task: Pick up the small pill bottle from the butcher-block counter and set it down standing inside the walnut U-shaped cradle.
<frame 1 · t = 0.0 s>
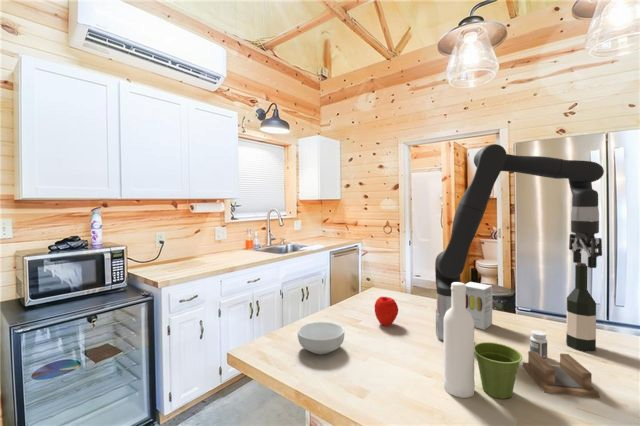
hand: (584, 265, 110), 29 cm above the table, tool pointing down, fingers open, 8 cm apart
supplement box: (476, 324, 133), on the table
apple: (386, 324, 134), on the table
wine bottle: (580, 347, 111), on the table
bottle: (458, 390, 87), on the table
pill bottle: (538, 357, 104), on the table
plant pot: (496, 392, 86), on the table
cradle: (557, 380, 91), on the table
cereal bowl: (321, 349, 113), on the table
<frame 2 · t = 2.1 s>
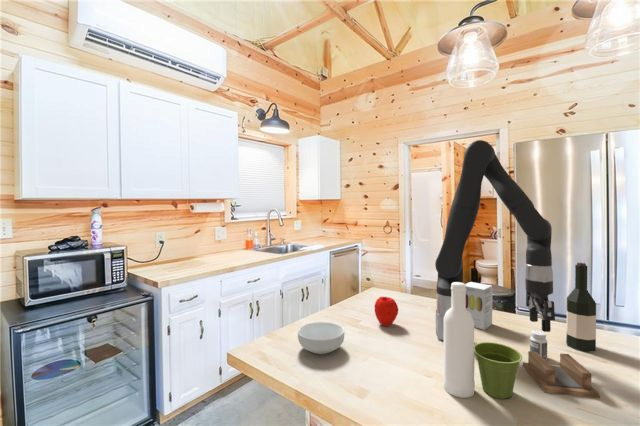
hand: (539, 326, 104), 11 cm above the table, tool pointing down, fingers open, 8 cm apart
nothing on the table moved.
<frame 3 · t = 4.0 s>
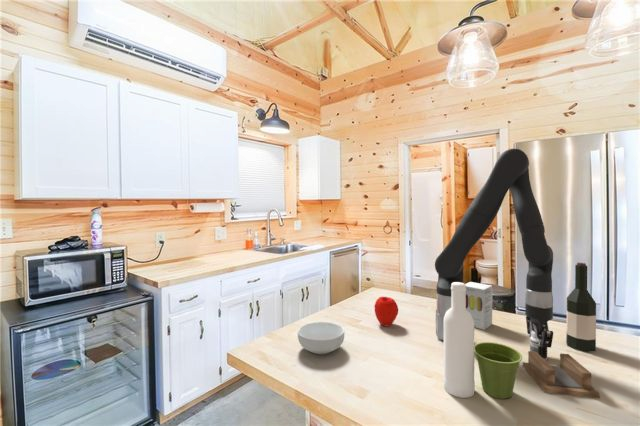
hand: (538, 353, 104), 1 cm above the table, tool pointing down, fingers closed on pill bottle, 4 cm apart
pill bottle: (538, 357, 104), on the table, touching gripper
everything else where it was.
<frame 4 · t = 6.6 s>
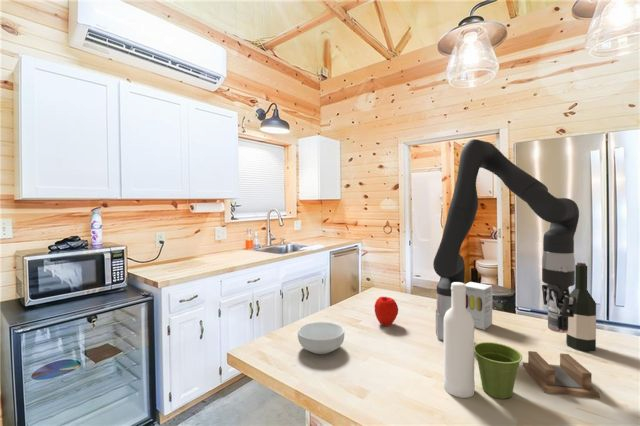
hand: (557, 325, 90), 16 cm above the table, tool pointing down, fingers closed on pill bottle, 4 cm apart
pill bottle: (557, 330, 90), point 15 cm above the table, touching gripper
everything else where it was.
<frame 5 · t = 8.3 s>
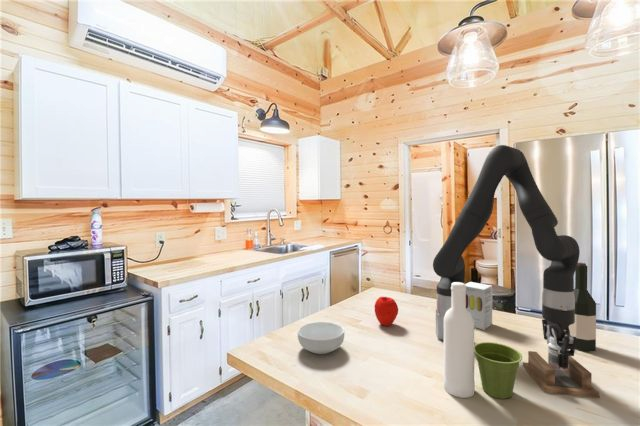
hand: (557, 362, 90), 5 cm above the table, tool pointing down, fingers closed on pill bottle, 4 cm apart
pill bottle: (558, 367, 90), point 4 cm above the table, touching gripper
everything else where it was.
when the fingers open (4 cm above the table, at t = 9.5 s): pill bottle drops 1 cm, resting on cradle.
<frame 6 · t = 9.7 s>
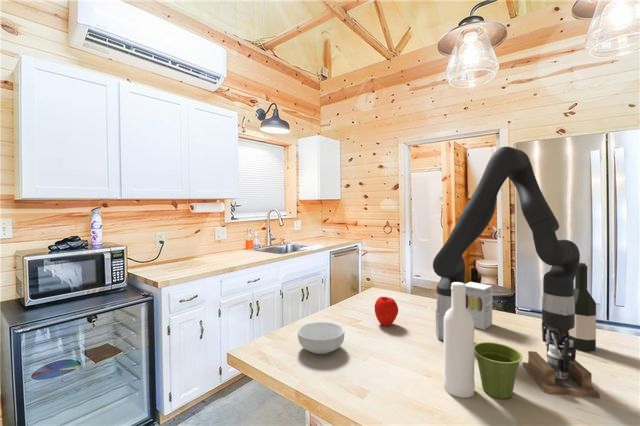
hand: (557, 365, 90), 4 cm above the table, tool pointing down, fingers open, 6 cm apart
pill bottle: (557, 375, 91), point 1 cm above the table, touching cradle
everything else where it was.
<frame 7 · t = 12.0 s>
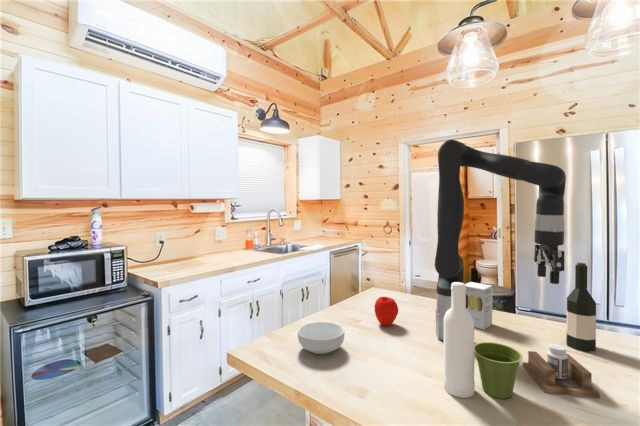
hand: (547, 280, 99), 27 cm above the table, tool pointing down, fingers open, 8 cm apart
nothing on the table moved.
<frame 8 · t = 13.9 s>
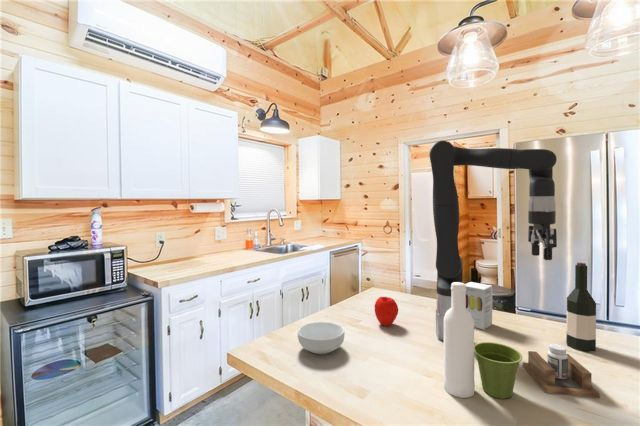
hand: (541, 257, 105), 33 cm above the table, tool pointing down, fingers open, 8 cm apart
nothing on the table moved.
at the end: pill bottle inside the target area on the cradle (0.1 cm from its centre), point 1.3 cm above the cradle's base; pill bottle tilted 0°; the gripper is holding nothing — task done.
